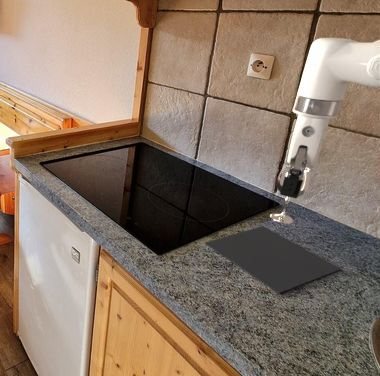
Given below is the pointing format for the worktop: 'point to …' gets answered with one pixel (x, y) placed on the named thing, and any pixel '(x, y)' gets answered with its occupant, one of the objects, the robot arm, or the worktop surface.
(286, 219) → the wineglass
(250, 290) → the worktop surface
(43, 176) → the worktop surface
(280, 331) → the worktop surface
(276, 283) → the placemat
